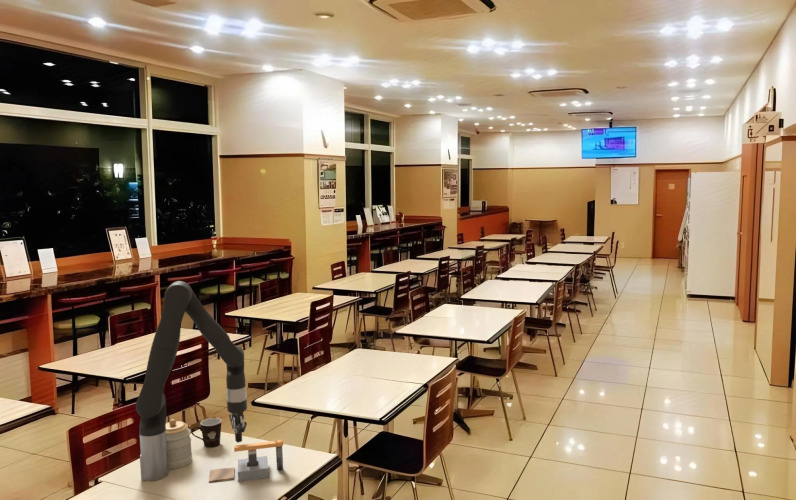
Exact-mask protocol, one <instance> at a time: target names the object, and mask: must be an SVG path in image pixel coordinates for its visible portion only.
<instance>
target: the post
mask: <svg viewBox="0 0 796 500" xmlns="http://www.w3.org/2000/svg"><path fill="white" fill-rule="evenodd" d="M275 455H276V458H275V460H276V471H279V472H280V471H283V470H284V458H283V446H281V447H275Z"/></svg>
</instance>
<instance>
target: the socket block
mask: <svg viewBox="0 0 796 500" xmlns="http://www.w3.org/2000/svg"><path fill="white" fill-rule="evenodd" d="M268 463H269V462H268V455H266V456H257V466H251V467H249V459H248V458H240V459H239V458H238V459H237V481H238V482H242V481H250V480H252V481H253V480H260V479H266V478H267V479H268V478H269V477H270V476H269V464H268Z"/></svg>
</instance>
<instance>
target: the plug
mask: <svg viewBox="0 0 796 500" xmlns="http://www.w3.org/2000/svg"><path fill="white" fill-rule="evenodd" d="M247 453H248V455H247V456H248V459H249V467H251V466H257V457H258V456H257V449H254V450H247Z"/></svg>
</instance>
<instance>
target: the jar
mask: <svg viewBox="0 0 796 500" xmlns="http://www.w3.org/2000/svg"><path fill="white" fill-rule="evenodd" d="M191 430H192V429H190V428H189V424H188V423H186V422H184V421H181V420H176V419H174V418H171V419H170V420H169V422H166V441H167V457H168V470H173V469H179V468H182V467H185V466H187V465H189V464H190V463H191V462H192V459H193V453H192V438H191V436H190V434H192V433H191Z"/></svg>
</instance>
